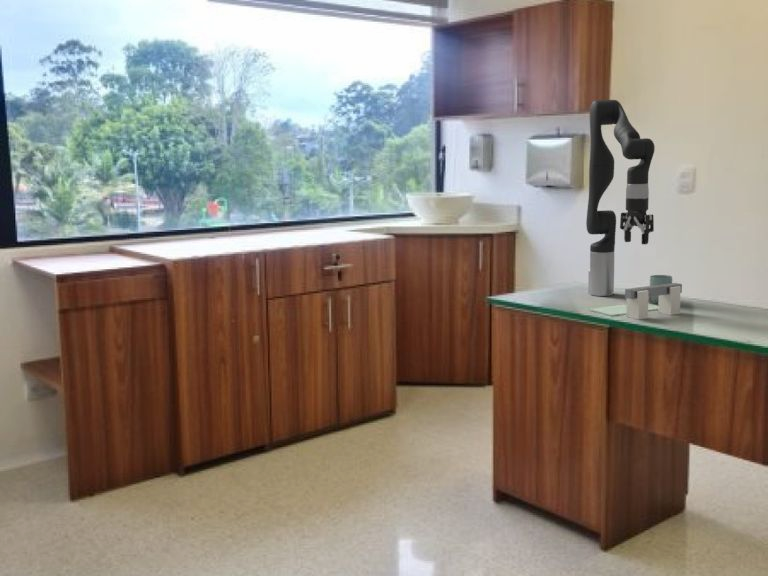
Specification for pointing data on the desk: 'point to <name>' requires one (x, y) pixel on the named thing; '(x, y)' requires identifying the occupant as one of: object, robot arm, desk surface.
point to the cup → (659, 283)
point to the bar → (651, 290)
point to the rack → (666, 305)
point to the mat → (618, 309)
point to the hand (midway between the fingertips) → (636, 243)
